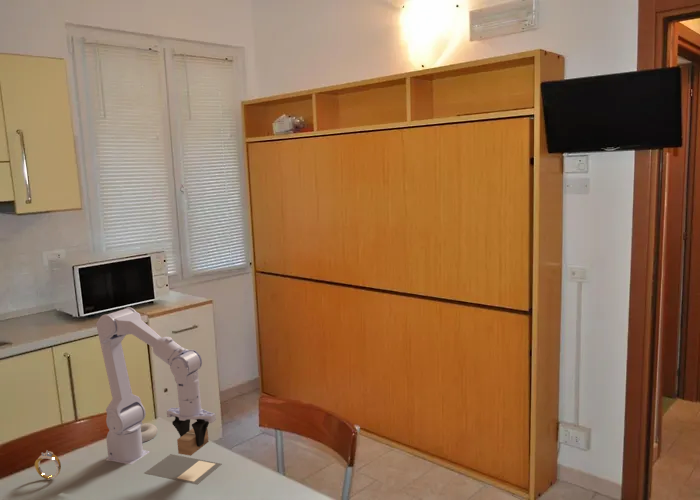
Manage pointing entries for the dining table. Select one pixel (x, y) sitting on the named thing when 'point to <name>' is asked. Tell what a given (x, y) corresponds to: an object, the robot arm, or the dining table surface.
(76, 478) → the dining table surface
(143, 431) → the donut
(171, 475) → the mat
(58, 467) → the ring
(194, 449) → the brown rectangular block
